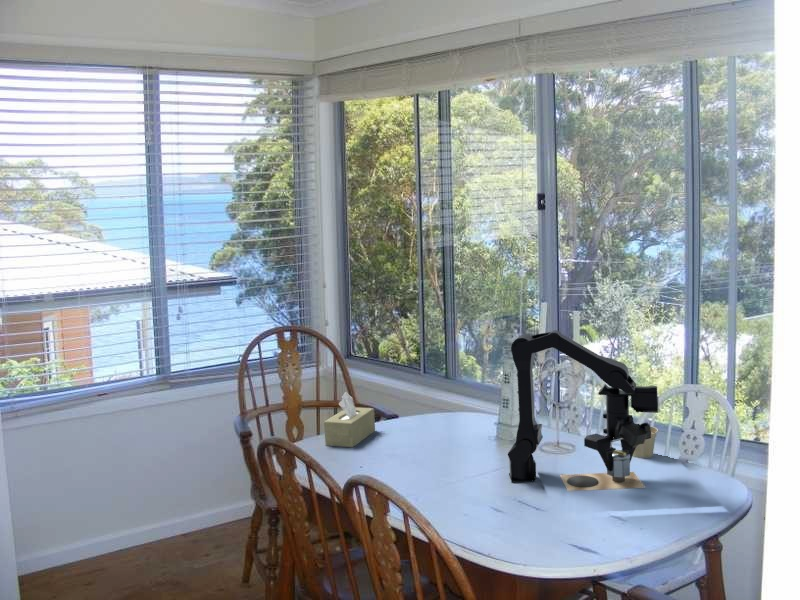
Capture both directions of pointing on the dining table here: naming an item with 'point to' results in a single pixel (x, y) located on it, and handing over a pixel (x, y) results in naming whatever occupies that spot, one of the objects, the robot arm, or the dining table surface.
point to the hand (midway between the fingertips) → (618, 468)
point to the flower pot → (646, 446)
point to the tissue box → (349, 424)
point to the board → (600, 482)
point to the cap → (620, 464)
